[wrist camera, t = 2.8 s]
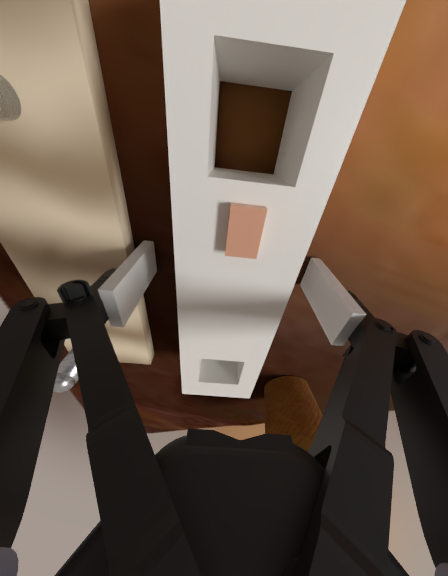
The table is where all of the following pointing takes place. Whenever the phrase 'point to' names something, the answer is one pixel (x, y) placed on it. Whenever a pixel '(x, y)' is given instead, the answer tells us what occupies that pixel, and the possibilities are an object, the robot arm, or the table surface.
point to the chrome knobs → (6, 106)
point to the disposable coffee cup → (291, 410)
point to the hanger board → (62, 161)
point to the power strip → (253, 185)
